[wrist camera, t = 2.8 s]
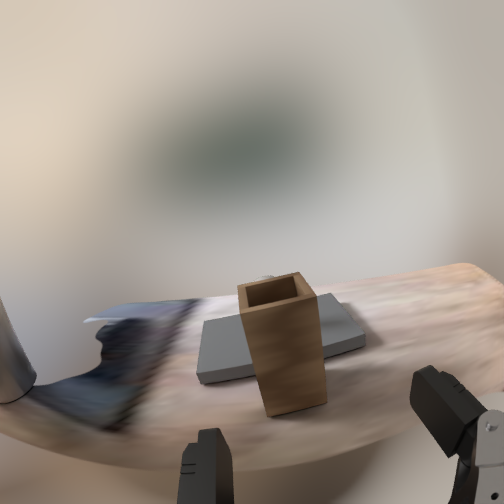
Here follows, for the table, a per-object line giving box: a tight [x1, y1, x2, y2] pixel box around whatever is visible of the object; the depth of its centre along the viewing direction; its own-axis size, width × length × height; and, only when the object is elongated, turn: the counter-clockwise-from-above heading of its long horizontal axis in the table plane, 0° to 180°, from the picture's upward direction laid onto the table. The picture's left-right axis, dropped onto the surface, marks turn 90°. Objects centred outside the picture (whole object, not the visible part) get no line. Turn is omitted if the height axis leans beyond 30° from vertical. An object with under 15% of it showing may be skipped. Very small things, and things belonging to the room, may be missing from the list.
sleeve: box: [238, 272, 327, 417], centre depth 21 cm, size 5×5×10 cm
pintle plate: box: [196, 276, 365, 384], centre depth 30 cm, size 17×11×8 cm, turn 94°
